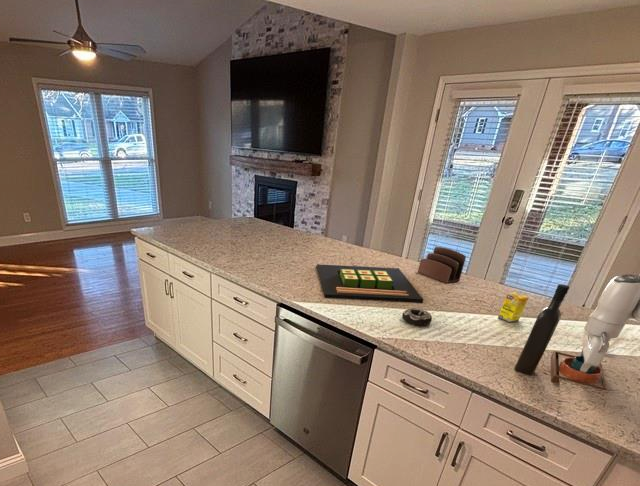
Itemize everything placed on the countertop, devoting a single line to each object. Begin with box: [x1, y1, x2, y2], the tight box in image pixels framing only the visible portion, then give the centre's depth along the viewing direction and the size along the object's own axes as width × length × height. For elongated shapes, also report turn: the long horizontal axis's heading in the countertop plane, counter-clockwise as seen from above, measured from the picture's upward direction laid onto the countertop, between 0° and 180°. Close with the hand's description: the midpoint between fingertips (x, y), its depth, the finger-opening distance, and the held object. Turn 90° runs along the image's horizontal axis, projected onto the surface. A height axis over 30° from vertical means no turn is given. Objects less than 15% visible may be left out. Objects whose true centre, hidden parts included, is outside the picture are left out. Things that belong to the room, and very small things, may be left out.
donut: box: [401, 307, 433, 327], centre depth 171 cm, size 12×12×4 cm
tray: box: [550, 350, 607, 391], centre depth 139 cm, size 14×20×2 cm
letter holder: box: [417, 246, 467, 284], centre depth 218 cm, size 10×20×14 cm, turn 30°
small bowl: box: [569, 355, 598, 374], centre depth 135 cm, size 7×7×4 cm
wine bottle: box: [514, 283, 570, 376], centre depth 133 cm, size 6×6×30 cm
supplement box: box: [497, 291, 530, 324], centre depth 174 cm, size 6×6×11 cm
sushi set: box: [316, 263, 424, 304], centre depth 207 cm, size 45×45×4 cm
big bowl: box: [557, 356, 604, 384], centre depth 136 cm, size 11×11×5 cm
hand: (582, 365), depth 135 cm, fingers closed on small bowl, 6 cm apart
